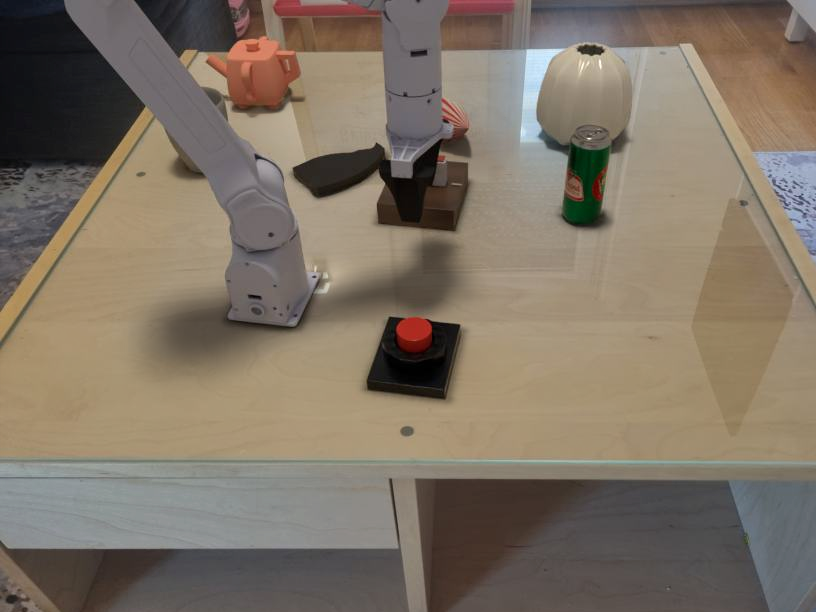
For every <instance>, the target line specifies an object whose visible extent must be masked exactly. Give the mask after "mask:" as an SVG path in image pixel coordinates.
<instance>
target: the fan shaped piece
mask: <svg viewBox="0 0 816 612" xmlns="http://www.w3.org/2000/svg"><path fill="white" fill-rule="evenodd" d="M385 156H386V148H385V147H383V146H382V145H381V144H380V143H378V142H377V141H376V142H375V143H374V146H372V147H370V148H363V149H356V150H355V151H351V152H337V153H336V152H335V153H329V154H324V155H320V156H319V155H318V156H316V157H313V158H311V159H309V160H307V161H304V162H302V163H300V164H298V165H295V166H293V167H292V173H293V174H294V175H295V176H296V178H297V179H298V180H300V182H302V184H304V185H306V186H307V187H309V189H311V190H312V191H314V193H315V194H316V196H317V197H319V198H323V197H326V196H329V195H333V194H336V193H339V192H342V191H345V190H348V189H349V188H352V187H353V186H357V184H359V183H361V182H363V181H364V180H366V179H367V178H368V177H369V176H370V175H372V174H373V173H374V172H375V171H376V170H377V169H378V168H379V165H380V163H381V161H382V159H384V158H385Z"/></svg>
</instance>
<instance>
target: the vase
mask: <svg viewBox="0 0 816 612" xmlns="http://www.w3.org/2000/svg"><path fill="white" fill-rule="evenodd" d="M538 92H539V93H538V98H537V102H536V108H535V115H536V116H535V117H536V121H537V123H538V124H539V126H540V127H541V128H542V130H543V131H544V132H545V134H546V135H547V137H548V138H549V139H552V140H555V141H556V142H557V143H558V144H559V145H561V146H564V147H565V146H570V138H571V136H572V135H573V134H574V131H575V129H576V128H577V127H579V126H581V125H587V124H593V125H599V126H602V127H604V128H606V129H607V130H608V131H609V132H610V138H611V140H612V141H614V140H615V139H616V138H617V137H618V136H619V135H620V134H621V133H622V132H623V130H624V129H625V128H627V126H628V125H629V122H630V119H631V115H632V107H633V83H632V76H631V73H630V69H629V68H628V66H627V65H626V61H625V59H623V57H622V56H621V55H620V54H619V53H617V52H616V51H615V50H614V49H612V48H611V47H609V46H607V45H605V44H601V43H598V42H588V41H583V42H581V43H574V44H573V45H570V46H569V47H567V48H564V49H562V50H561V51H560V52H558V53H556V54H555V55H554V56H553V57H552V58H551V60H550V61H549V63H548V66H547V68H546V71H545V73H544V75H543V78H542V81H541V85H540V88H539V91H538Z"/></svg>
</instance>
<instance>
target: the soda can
mask: <svg viewBox="0 0 816 612" xmlns="http://www.w3.org/2000/svg"><path fill="white" fill-rule="evenodd" d="M612 146H613V140H611V138H610V132H609V131H608V130H607V129H606V128H604V127H602V126H599V125H593V124H587V125H581V126H579V127H577V128H576V129H575V131H574V134H573V135H572V136H571V138H570V145H568V156H567V164H566V172H565V180H564V181H565V182H564V188H563V189H564V190H563V197H562V206H561V214H562V215H563V217H564V218H565V220H567V221H568V222H570V223H572V224H574V225H579V226H587V225H591V224H593V223H595V222H596V221H598V220H599V218H600V217H601V214H602V209H603V208H602V207H603V203H604V195H605V188H606V184H607V176H608V171H609V170H608V169H609V164H610V158H611V152H612Z"/></svg>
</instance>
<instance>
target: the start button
mask: <svg viewBox="0 0 816 612" xmlns="http://www.w3.org/2000/svg"><path fill="white" fill-rule="evenodd" d="M405 318H406V319H404V320H402V321H401V322H400V323H399V324H398V325H397V328H396V331H397V343H398V346H399V347H400V348H401V349H402V350H404V351H406V352H410V353H419V352H422V351H425V350H426V349H428V348H429V347H430V345H431V344H432V327H431V324H430V323H429V322H428V321H427V320H425V319H426V318H423V317H419V316H410V317H405Z"/></svg>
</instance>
